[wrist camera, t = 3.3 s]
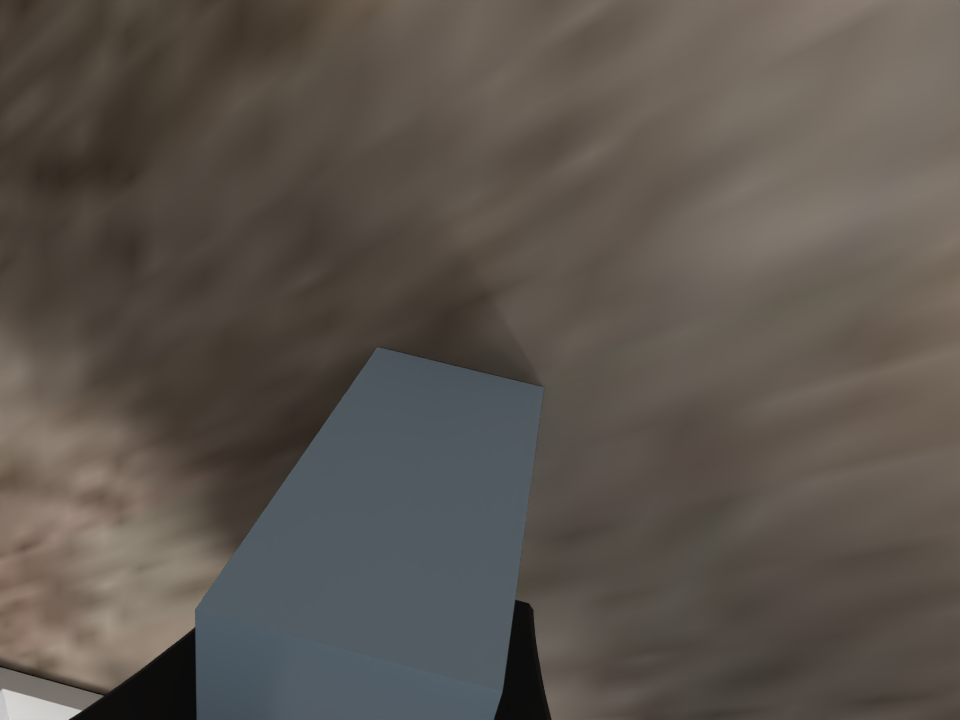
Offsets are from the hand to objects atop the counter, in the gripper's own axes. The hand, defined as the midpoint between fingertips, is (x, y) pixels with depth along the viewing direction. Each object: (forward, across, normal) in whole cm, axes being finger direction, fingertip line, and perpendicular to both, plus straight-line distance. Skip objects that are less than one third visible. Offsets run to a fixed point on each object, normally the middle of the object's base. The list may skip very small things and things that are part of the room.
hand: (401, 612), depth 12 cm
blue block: (+2, 0, 0) cm, 2 cm away
